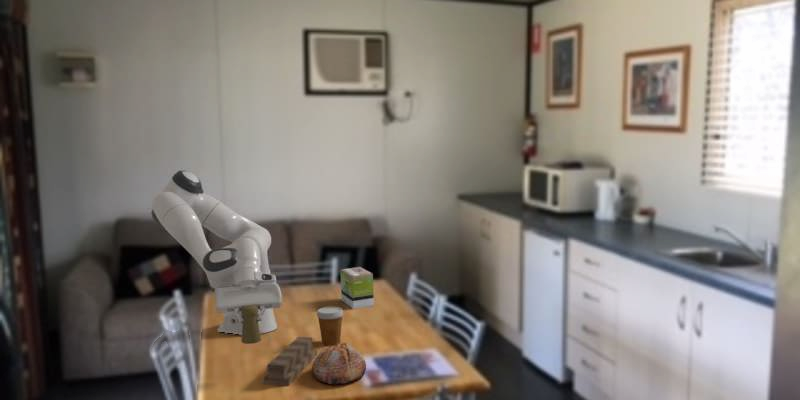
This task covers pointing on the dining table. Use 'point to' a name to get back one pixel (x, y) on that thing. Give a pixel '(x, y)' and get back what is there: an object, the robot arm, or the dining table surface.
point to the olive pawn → (250, 325)
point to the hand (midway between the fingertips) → (250, 321)
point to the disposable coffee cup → (330, 324)
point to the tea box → (357, 287)
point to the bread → (338, 364)
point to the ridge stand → (290, 362)
